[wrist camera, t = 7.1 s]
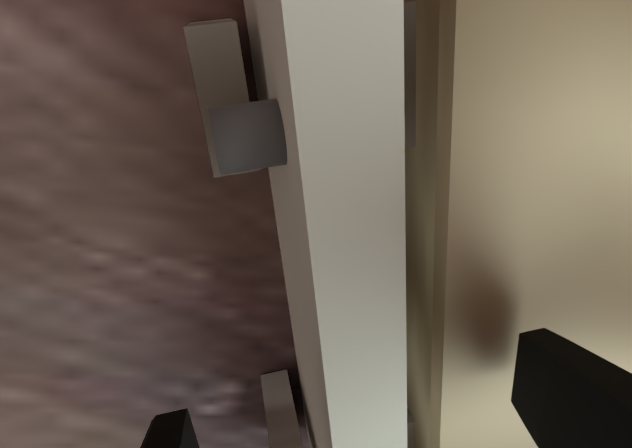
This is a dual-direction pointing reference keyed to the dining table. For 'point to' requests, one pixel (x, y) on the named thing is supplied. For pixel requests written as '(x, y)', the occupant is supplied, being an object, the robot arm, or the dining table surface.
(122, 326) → the dining table surface
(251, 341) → the dining table surface
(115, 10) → the dining table surface
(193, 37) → the cabinet
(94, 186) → the dining table surface
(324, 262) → the door
